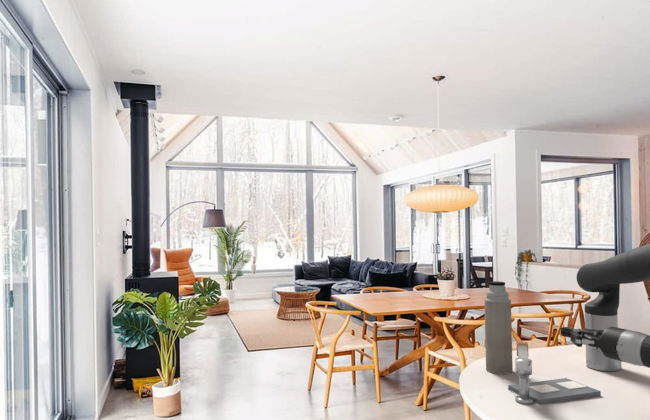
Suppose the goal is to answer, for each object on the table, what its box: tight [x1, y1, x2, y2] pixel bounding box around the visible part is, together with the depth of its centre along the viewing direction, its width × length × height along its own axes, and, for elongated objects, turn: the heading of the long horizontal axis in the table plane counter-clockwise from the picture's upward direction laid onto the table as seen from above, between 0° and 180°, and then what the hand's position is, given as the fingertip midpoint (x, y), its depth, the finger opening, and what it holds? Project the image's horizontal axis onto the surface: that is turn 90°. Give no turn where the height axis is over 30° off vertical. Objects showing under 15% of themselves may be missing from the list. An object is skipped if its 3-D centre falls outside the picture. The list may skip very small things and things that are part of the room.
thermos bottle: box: [484, 280, 514, 375], centre depth 153 cm, size 8×8×28 cm
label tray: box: [507, 377, 602, 405], centre depth 132 cm, size 20×12×2 cm, turn 107°
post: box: [514, 374, 535, 405], centre depth 126 cm, size 4×4×7 cm
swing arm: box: [514, 341, 533, 376], centre depth 134 cm, size 22×4×4 cm, turn 159°
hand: (562, 330), depth 127 cm, fingers closed
